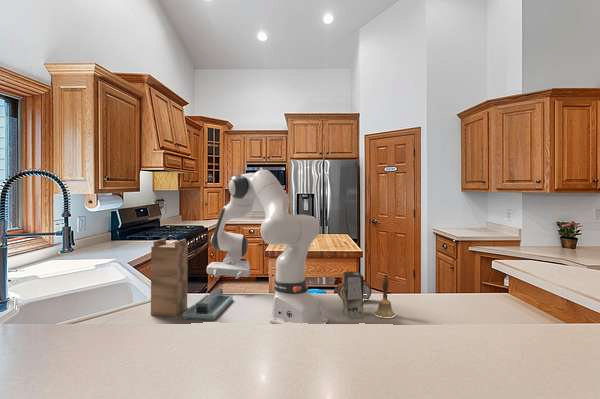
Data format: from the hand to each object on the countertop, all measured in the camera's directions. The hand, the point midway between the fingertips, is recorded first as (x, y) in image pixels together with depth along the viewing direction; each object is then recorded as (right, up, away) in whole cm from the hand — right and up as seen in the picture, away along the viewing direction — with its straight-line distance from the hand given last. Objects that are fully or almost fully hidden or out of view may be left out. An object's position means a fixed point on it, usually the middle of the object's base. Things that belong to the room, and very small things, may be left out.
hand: (226, 276), depth 155 cm
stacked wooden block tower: (-18, -9, -21) cm, 29 cm away
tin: (+58, -10, -4) cm, 59 cm away
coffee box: (+54, -10, -21) cm, 59 cm away
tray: (-3, -9, -18) cm, 20 cm away
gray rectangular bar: (-3, -8, -16) cm, 18 cm away
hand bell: (+67, -11, -21) cm, 71 cm away
